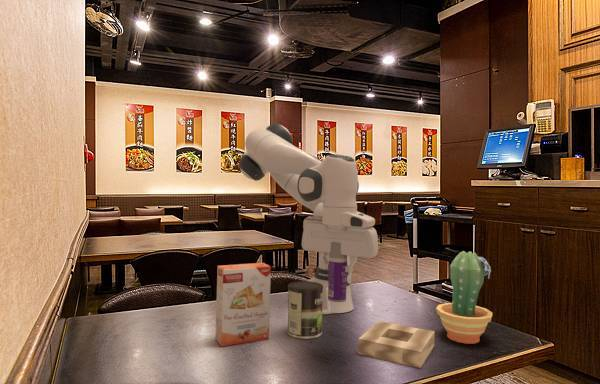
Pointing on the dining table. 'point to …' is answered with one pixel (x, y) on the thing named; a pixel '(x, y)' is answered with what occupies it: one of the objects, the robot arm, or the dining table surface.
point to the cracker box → (242, 303)
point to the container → (337, 274)
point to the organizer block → (397, 343)
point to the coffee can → (305, 309)
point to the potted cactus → (466, 299)
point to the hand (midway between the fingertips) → (337, 271)
